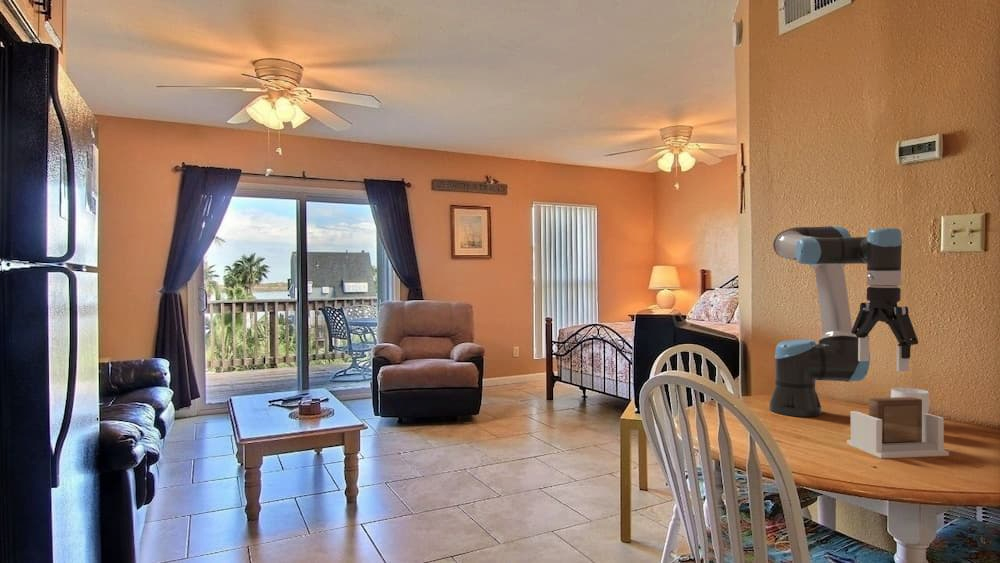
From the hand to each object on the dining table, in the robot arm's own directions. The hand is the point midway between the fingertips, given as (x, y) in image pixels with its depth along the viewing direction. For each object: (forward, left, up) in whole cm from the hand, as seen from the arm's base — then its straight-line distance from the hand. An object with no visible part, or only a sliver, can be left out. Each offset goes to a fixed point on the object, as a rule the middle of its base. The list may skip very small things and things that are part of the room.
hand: (882, 365), depth 152 cm
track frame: (+7, -2, -20) cm, 22 cm away
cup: (-7, +14, -21) cm, 26 cm away
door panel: (+6, -2, -19) cm, 21 cm away
